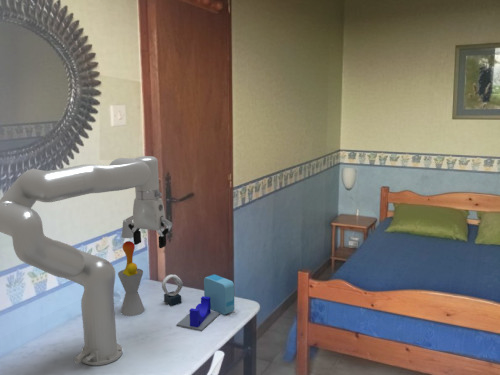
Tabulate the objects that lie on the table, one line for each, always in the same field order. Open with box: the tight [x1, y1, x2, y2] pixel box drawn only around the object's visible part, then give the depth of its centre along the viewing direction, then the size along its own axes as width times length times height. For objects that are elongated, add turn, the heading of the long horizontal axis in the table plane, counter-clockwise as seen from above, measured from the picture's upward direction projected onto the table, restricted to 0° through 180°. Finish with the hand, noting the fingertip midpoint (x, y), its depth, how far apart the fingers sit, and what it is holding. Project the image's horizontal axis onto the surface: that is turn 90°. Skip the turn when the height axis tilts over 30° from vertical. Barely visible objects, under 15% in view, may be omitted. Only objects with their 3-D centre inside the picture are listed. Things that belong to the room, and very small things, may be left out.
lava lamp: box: [117, 218, 145, 317], centre depth 184 cm, size 9×9×35 cm
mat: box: [175, 310, 221, 332], centre depth 179 cm, size 14×10×1 cm
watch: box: [161, 274, 184, 307], centre depth 193 cm, size 6×8×11 cm
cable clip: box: [189, 296, 212, 327], centre depth 178 cm, size 12×4×6 cm, turn 163°
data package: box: [203, 273, 235, 316], centre depth 187 cm, size 12×4×12 cm, turn 45°
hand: (149, 245), depth 166 cm, fingers open, 9 cm apart
